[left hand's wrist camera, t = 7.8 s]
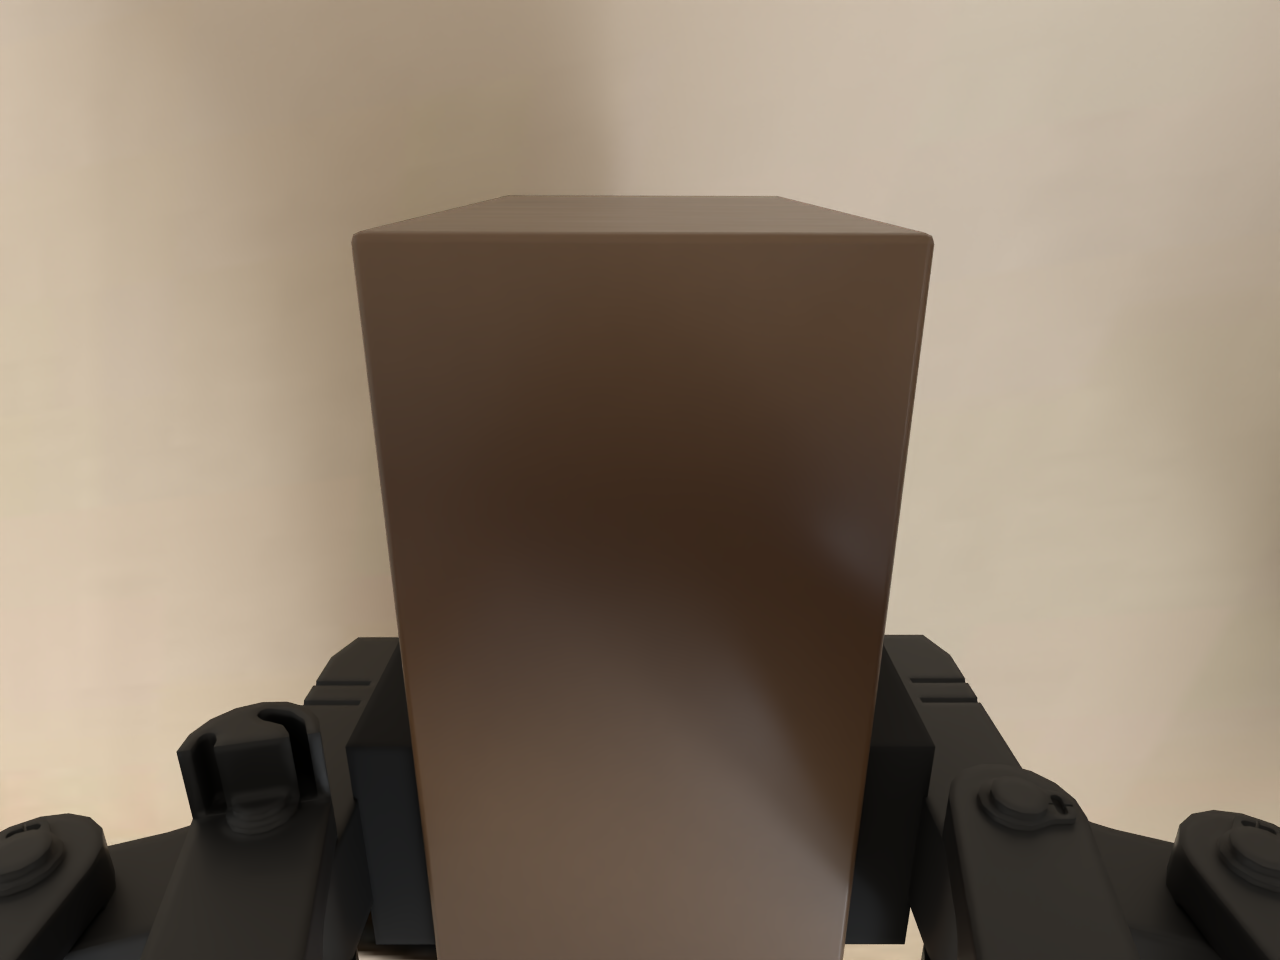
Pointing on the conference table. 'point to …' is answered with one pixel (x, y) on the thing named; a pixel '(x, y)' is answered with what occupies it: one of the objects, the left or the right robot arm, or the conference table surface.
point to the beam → (641, 559)
